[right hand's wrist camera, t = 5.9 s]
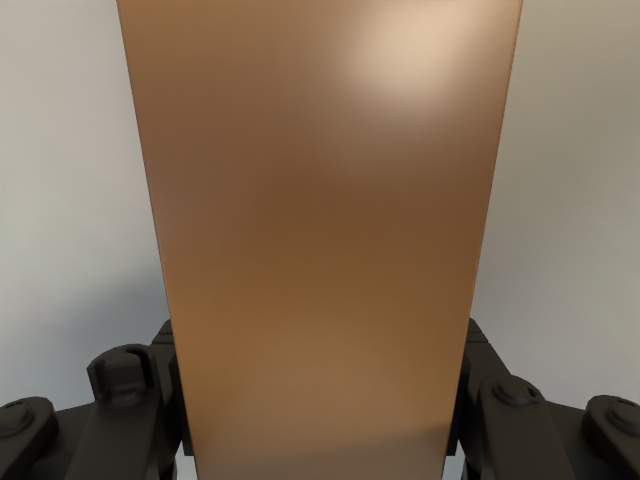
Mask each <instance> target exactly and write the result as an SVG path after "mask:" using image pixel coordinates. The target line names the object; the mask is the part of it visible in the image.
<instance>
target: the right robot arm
mask: <svg viewBox="0 0 640 480" xmlns="http://www.w3.org/2000/svg"><path fill="white" fill-rule="evenodd" d="M87 372H88V376H89V379H90V383H91V386H92V390H93V394H94V397H95V402H93V403H89V404H86V405H82V406H78V407H74V408H69V409H65V410H61V411H56V412H55V410H54V407H53V404H52V403H51V402H50V401H49V400H48V399H47V398H43V397H29V398H22V399H19V400H17V401H14V402H11V403H8V404H6V405H4V406H2V407H0V480H177V466H176V460H175V455H176V453H177V450H178V448H179V445H180V443H181V440H182V444H183V450H184V455H185V456H194V455H193V449H192V443H191V437H190V431H189V425H188V420H187V414H186V408H185V402H184V396H183V390H182V384H181V378H180V372H179V366H178V361H177V355H176V349H175V343H174V337H173V331H172V325H171V319H169V320H167V321H166V322H165V323H164V325H163V326H162V328H161V329H160V331H159V332H158V335H156V337H155V338H154V340H153V341H152V344H150V345H149V346H146V345H142V344H127V345H123V346H119V347H115V348H113V349H111V350H108V351H106V352H104V353H102V354H101V355H99V356H98V357H97V358H95V359H94V360H93V361H92V362H91V363H90V365H89V366H88V367H87ZM458 439H459V441H460V444H461V446H462V449H463V451H464V454H465V460H464V465H463V471H462V476H461V480H640V406H639V405H637V404H636V403H634V402H631V401H629V400H626V399H623V398H620V397H616V396H609V395H600V396H594V397H593V398H591V399H590V400H589V401H588V403H587V406H586V409H585V410H582V409H578V408H573V407H569V406H565V405H560V404H556V403H553V402H549V401H546V400H545V399H544V397H543V396H542V394H541V393H540V391H539V390H538V389H537V388H536V387H534V386H533V385H532V384H531V383H530V382H528V381H526V380H524V379H522V378H520V377H518V376H514V375H511V374H510V372H509V371H508V369H507V368H506V366H505V365H504V363H503V362H502V360H501V359H500V357H499V356H498V354H497V353H496V352H495V350H494V349H493V347H492V346H491V344H490V343H488V340H487V338H486V337H485V335H484V334H482V331H481V329H480V328H479V326H478V325H477V323H476V322H475V320H473V319H472V318H470V317H469V323H468V329H467V334H466V340H465V346H464V352H463V358H462V364H461V370H460V376H459V382H458V388H457V394H456V399H455V405H454V411H453V417H452V423H451V429H450V435H449V441H448V447H447V453H446V456H455V454H456V448H457V443H458Z"/></svg>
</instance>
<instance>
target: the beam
mask: <svg viewBox="0 0 640 480" xmlns="http://www.w3.org/2000/svg"><path fill="white" fill-rule="evenodd" d="M116 1H117V7H118V13H119V19H120V25H121V30H122V36H123V42H124V48H125V54H126V60H127V66H128V72H129V78H130V83H131V89H132V95H133V101H134V107H135V113H136V119H137V125H138V131H139V137H140V142H141V148H142V154H143V160H144V166H145V172H146V178H147V184H148V190H149V196H150V201H151V207H152V213H153V219H154V225H155V231H156V237H157V243H158V249H159V254H160V260H161V266H162V272H163V278H164V284H165V290H166V296H167V302H168V308H169V313H170V319H171V325H172V331H173V337H174V343H175V349H176V355H177V361H178V366H179V372H180V378H181V384H182V390H183V396H184V402H185V408H186V414H187V420H188V425H189V431H190V437H191V443H192V449H193V455H194V461H195V467H196V473H197V478H198V480H442V476H443V470H444V464H445V459H446V453H447V447H448V441H449V435H450V429H451V423H452V417H453V411H454V405H455V399H456V394H457V388H458V382H459V376H460V370H461V364H462V358H463V352H464V346H465V340H466V334H467V329H468V323H469V317H470V311H471V305H472V299H473V293H474V287H475V281H476V275H477V269H478V264H479V258H480V252H481V246H482V240H483V234H484V228H485V222H486V216H487V210H488V204H489V198H490V193H491V187H492V181H493V175H494V169H495V163H496V157H497V151H498V145H499V139H500V133H501V128H502V122H503V116H504V110H505V104H506V98H507V92H508V86H509V80H510V74H511V68H512V63H513V57H514V51H515V45H516V39H517V33H518V27H519V21H520V15H521V9H522V3H523V0H116Z"/></svg>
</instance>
